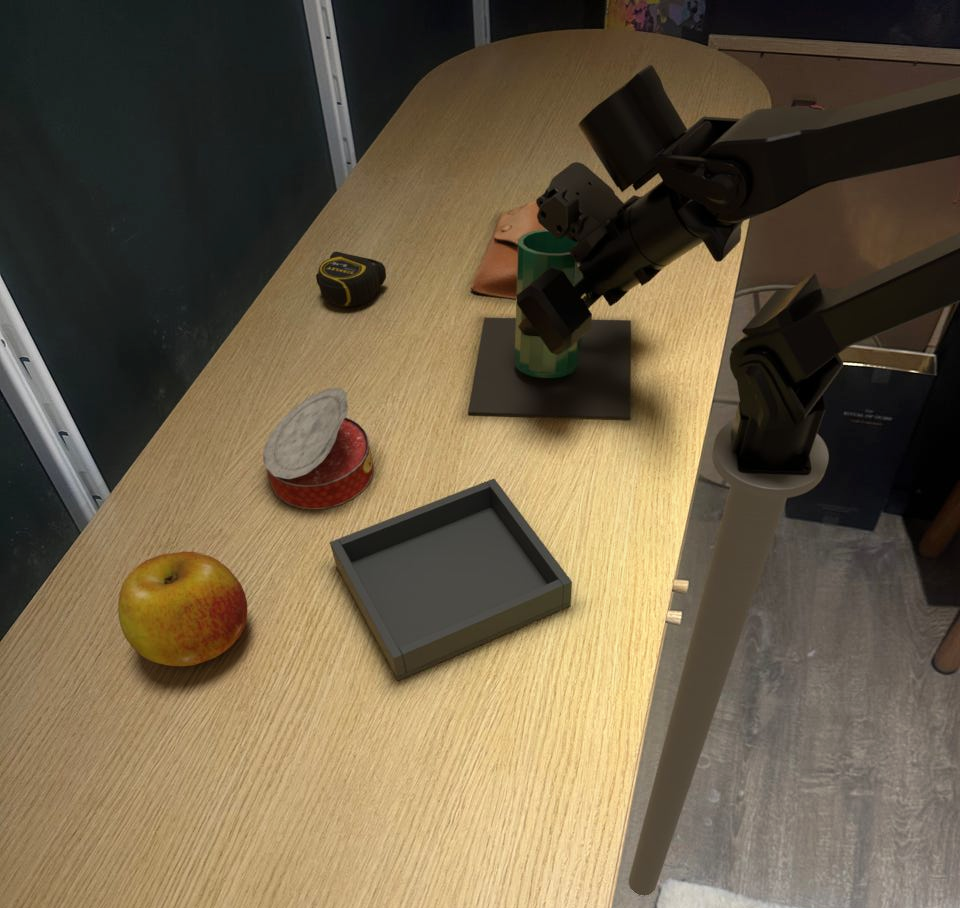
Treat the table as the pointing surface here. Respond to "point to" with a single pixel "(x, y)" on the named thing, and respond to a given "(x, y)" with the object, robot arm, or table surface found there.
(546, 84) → the table surface
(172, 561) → the fruit
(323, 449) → the canned food
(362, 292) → the tape measure
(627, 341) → the mat
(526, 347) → the cup
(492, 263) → the sunglasses case
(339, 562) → the tray
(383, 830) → the table surface
